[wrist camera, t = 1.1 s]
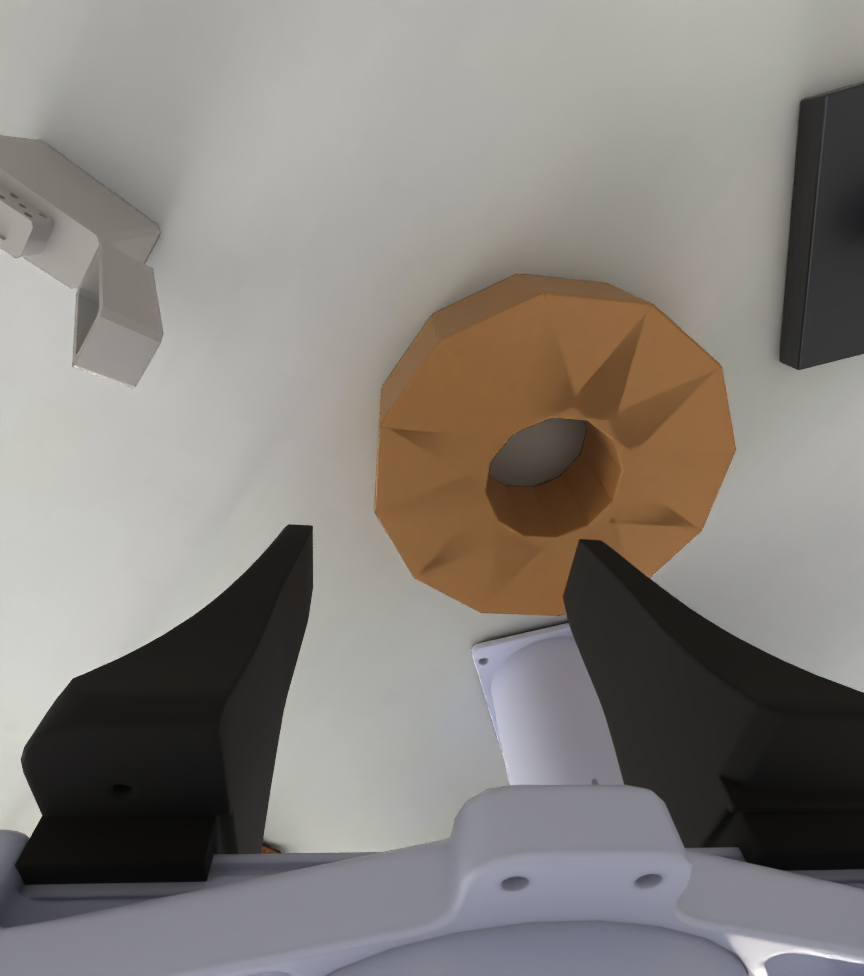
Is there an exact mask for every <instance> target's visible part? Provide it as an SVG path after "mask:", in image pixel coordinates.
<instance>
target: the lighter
mask: <svg viewBox="0 0 864 976" xmlns="http://www.w3.org/2000/svg"><path fill="white" fill-rule="evenodd" d="M159 235H160V231H159V228H158V225H157V224H155V223H154V222H153V221H151V220H150V219H148V218H147V217H146V216H144V215H143V214H142V213H140V212H139V211H137V210H136V209H135V208H133V207H132V206H131V205H129V204H128V203H127V202H125V201H124V200H122V199H121V198H120V197H118V196H117V195H116V194H114V193H113V192H111V191H110V190H109V189H107V188H106V187H105V186H103V185H102V184H101V183H99V182H98V181H96V180H95V179H94V178H92V177H91V176H90V175H88V174H87V173H85V172H84V171H83V170H81V169H80V168H79V167H77V166H76V165H74V164H73V163H72V162H70V161H69V160H68V159H66V158H65V157H64V156H62V155H61V154H59V153H58V152H57V151H55V150H54V149H53V148H51V147H50V146H48V145H47V144H46V143H44V142H43V141H41V140H33V139H25V138H18V137H10V136H3V135H0V248H1V249H2V250H4V251H5V252H7V253H9V254H10V255H12V256H13V257H15V258H19V257H23V258H24V259H26V260H27V261H29V262H31V263H32V264H34V265H35V266H37V267H38V268H40V269H41V270H43V271H44V272H46V273H48V274H49V275H51V276H52V277H54V278H55V279H57V280H58V281H60V282H61V283H63V284H64V285H66V286H68V287H69V288H71V289H72V288H78V291H77V294H76V308H75V326H74V344H73V362H72V367H74V368H77V369H80V370H82V371H85V372H88V373H91V374H93V375H96V376H99V377H102V378H104V379H107V380H110V381H112V382H115V383H118V384H121V385H123V386H126V387H129V388H135V387H136V385H137V384H138V382H139V380H140V378H141V377H142V375H143V373H144V371H145V370H146V368H147V366H148V364H149V363H150V361H151V359H152V357H153V356H154V354H155V352H156V350H157V349H158V347H159V345H160V343H161V340H162V337H163V328H162V322H161V315H160V309H159V303H158V297H157V290H156V284H155V278H154V272H153V268H151V267H149V266H147V265H145V264H144V263H145V261H146V259H147V258H148V256H149V254H150V252H151V250H152V248H153V246H154V244H155V242H156V240H157V238H158V237H159Z"/></svg>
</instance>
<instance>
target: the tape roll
mask: <svg viewBox="0 0 864 976" xmlns="http://www.w3.org/2000/svg"><path fill="white" fill-rule="evenodd" d="M549 418H562V419H575V420H585V421H586V424H587V428H588V429H587V432H586V436H585V440H584V444H583V447H582V451H581V454H580V455H579V456H578V457H577V459H576V460H575V461H574V462H573V463H572V464H571V465H570V466H569V467H568V468H567V469H566V470H565V472H564V473H563V474H562V475H561V476H560V477H558V478H555V479H553V480H550V481H548V482H545V483H543V484H541V485H538V486H536V487H522V486H505V485H504V484H502V483H500V482H499V481H497V480H496V479H494V478H493V477H491V476H490V475H489V469H490V464H491V460H492V459H493V458H494V457H495V455H496V454H497V453H498V452H499V451H500V449H501V448H502V447H503V446H504V445H505V443H506V442H507V441H508V440H509V439H510V438H511V436H512V435H513V434H514V433H516V432H519V431H521V430H523V429H526V428H528V427H530V426H533V425H535V424H538V423H540V422H542V421H545V420H547V419H549ZM735 450H736V447H735V442H734V436H733V430H732V424H731V418H730V412H729V406H728V400H727V394H726V388H725V383H724V377H723V371H722V366H721V365H720V364H719V363H718V362H717V361H716V360H715V359H714V358H713V357H712V356H710V355H709V354H708V353H707V352H706V351H705V350H704V349H703V348H702V347H700V346H699V345H698V344H697V343H696V342H695V341H694V340H693V339H692V338H690V337H689V336H688V335H687V334H686V333H685V332H684V331H683V330H681V329H680V328H679V327H678V326H677V325H676V324H675V323H674V322H673V321H671V320H670V319H669V318H668V317H667V316H666V315H665V314H664V313H663V312H661V311H660V310H659V309H658V308H657V307H656V306H655V305H654V304H652V303H650V302H648V301H645V300H643V299H641V298H639V297H636V296H634V295H632V294H630V293H628V292H625V291H623V290H621V289H619V288H616V287H614V286H612V285H610V284H607V283H603V282H593V281H584V280H574V279H564V278H555V277H545V276H535V275H526V274H515V275H513V276H511V277H509V278H507V279H505V280H503V281H501V282H498V283H496V284H494V285H492V286H490V287H488V288H486V289H484V290H482V291H480V292H477V293H475V294H473V295H471V296H469V297H467V298H465V299H463V300H461V301H458V302H456V303H454V304H452V305H450V306H448V307H446V308H444V309H442V310H440V311H437V312H435V313H433V314H432V316H430V318H429V319H428V321H427V322H426V323H425V325H424V326H423V328H422V329H421V331H420V332H419V334H418V335H417V336H416V338H415V339H414V341H413V342H412V344H411V345H410V347H409V348H408V349H407V351H406V352H405V354H404V355H403V357H402V358H401V359H400V361H399V362H398V364H397V365H396V367H395V368H394V370H393V371H392V372H391V374H390V375H389V377H388V378H387V380H386V381H385V383H384V384H383V386H382V389H381V400H380V417H379V433H378V450H377V467H376V484H375V501H374V512H375V514H376V516H377V518H378V519H379V521H380V523H381V524H382V526H383V528H384V529H385V531H386V533H387V534H388V536H389V537H390V539H391V541H392V542H393V544H394V546H395V547H396V549H397V551H398V552H399V554H400V556H401V557H402V559H403V561H404V562H405V564H406V566H407V567H408V569H409V571H410V572H411V574H412V576H413V577H414V578H415V579H417V580H419V581H421V582H423V583H425V584H427V585H429V586H430V587H432V588H434V589H436V590H438V591H440V592H442V593H444V594H446V595H448V596H449V597H451V598H453V599H455V600H457V601H459V602H461V603H463V604H465V605H467V606H469V607H470V608H472V609H474V610H476V611H478V612H480V613H492V614H521V615H550V616H560V615H563V614H566V610H565V605H564V601H563V593H564V590H565V587H566V583H567V580H568V576H569V573H570V569H571V566H572V562H573V559H574V555H575V552H576V548H577V545H578V541H579V539H588V540H601V541H603V542H604V543H605V544H607V545H608V546H610V547H611V548H612V549H613V550H615V551H616V552H617V553H619V554H620V555H621V556H622V557H624V558H625V559H626V560H627V561H628V562H630V563H631V564H632V565H633V566H635V567H636V568H637V569H638V570H640V571H641V572H642V573H643V574H645V575H646V576H647V577H648V578H650V577H651V576H652V575H653V574H654V573H655V572H656V571H658V570H659V569H660V568H661V567H662V566H663V565H664V564H665V563H666V562H668V561H669V560H670V559H671V558H672V557H673V556H674V555H675V554H676V553H678V552H679V551H680V550H681V549H682V548H683V547H684V546H685V545H686V544H688V543H689V542H690V541H691V540H692V539H693V538H694V537H695V536H696V535H698V534H699V533H700V532H701V531H702V528H703V527H704V525H705V522H706V520H707V517H708V515H709V513H710V510H711V508H712V505H713V503H714V501H715V498H716V496H717V493H718V491H719V489H720V486H721V484H722V482H723V479H724V477H725V474H726V472H727V470H728V467H729V465H730V462H731V460H732V458H733V455H734V453H735Z"/></svg>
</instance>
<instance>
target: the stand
mask: <svg viewBox="0 0 864 976" xmlns="http://www.w3.org/2000/svg"><path fill="white" fill-rule="evenodd" d="M861 354H864V82H861V83H857V84H854V85H850V86H847V87H843V88H840V89H836V90H833V91H829V92H826V93H822V94H819V95H815V96H812V97H808V98H805V99H803V100H802V101H801V107H800V119H799V131H798V144H797V156H796V168H795V181H794V193H793V205H792V218H791V230H790V242H789V255H788V267H787V279H786V291H785V304H784V316H783V328H782V341H781V353H780V362H781V363H783V364H786V365H788V366H790V367H792V368H795V369H797V370H801V369H805V368H809V367H813V366H817V365H821V364H825V363H829V362H833V361H837V360H841V359H845V358H849V357H853V356H857V355H861Z"/></svg>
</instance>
